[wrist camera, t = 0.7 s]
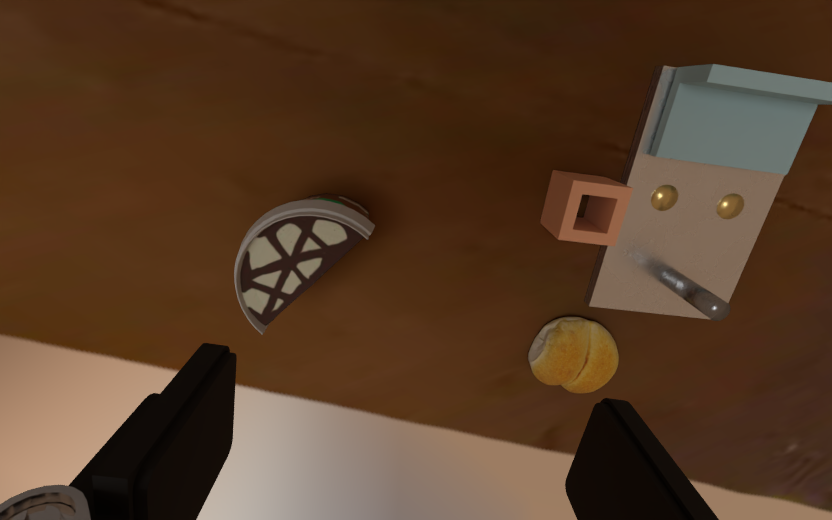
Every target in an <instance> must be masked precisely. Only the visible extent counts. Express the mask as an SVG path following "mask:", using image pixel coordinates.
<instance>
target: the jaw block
mask: <svg viewBox="0 0 832 520" xmlns="http://www.w3.org/2000/svg"><path fill="white" fill-rule="evenodd" d="M632 191H633V188H632V187H629V186H627V185H624V184H622V183H619V182H617V181H614V180H612V179H609V178H607V177H602V176H594V175H587V174H579V173H572V172H564V171H557V170H553V172H552V176H551V180H550V184H549V188H548V192H547V196H546V200H545V204H544V208H543V212H542V216H541V220H540V223H541V224H542V225H543V226H544V227H545V228H546V229H547V230H548V231H549V232H550V233H551V234H553V235H554V236H555V237H556V238H557V239H558V240H566V241H574V242H582V243H591V244H599V245H607V246H615V245H616V242H617V238H618V235H619V232H620V229H621V226H622V223H623V219H624V216H625V213H626V210H627V207H628V204H629V201H630V197H631V194H632ZM582 194H584V195H590V196H589V199H588V203H587V206H586V210H585V214H584V217H583V218H581V217H576V216H577V212H578V208H579V205H580V201H581V197H582Z"/></svg>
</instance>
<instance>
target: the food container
mask: <svg viewBox="0 0 832 520" xmlns="http://www.w3.org/2000/svg"><path fill="white" fill-rule="evenodd" d="M374 227H375V225H374V224H373V223H372V222H371V221H369V215H368V211H367V210H366V209H365V208H364V207H363V206H362V205H360V204H359V203H357V202H355V201H353V200H351V199H349V198H347V197H345V196H341V195H335V194H328V193H325V194H319V195H313V196H309V197H307V198H305V199H303V200H300V201H295V202H289V203H286V204H284V205H281V206H278V207H276V208H274V209H272V210H271V211H269V212H267V213H266V214H264V215H263V216H262V217H261V218H260V219H258V220H257V221H256V222H255V223H254V225H253V226H252V227H251V228H250V229H249V231H248V232H247V234H246V236H245V238H244V239H243V241H242V244H241V247H240V250H239V253H238V256H237V259H236V264H235V270H234V279H235V288H236V293H237V298H238V300H239V303H240V306H241V308H242V310H243V312H244V313H245V315H246V317H247V319H248V320H249V321H250V322H251V324H252V325H253V326H254V327H255V328H256V329H257V330H258V331H259V332H260V333H261V334H263V333H264V331H265V330H266V328H267V327H268V325H269V323H270V322H271V321H273V320H274V318H275V317H276V316H277V315H278V314H279V313H281V312H282V311H283V310H284V309H285V308H286V307H287V306H288V305H290V304H291V303H292V302H293V301H294V300H295V299H296V298H297V297H299V296H300V295H301V294H302V293H303V292H304V291H306V290H307V289H308V288H309V287H310V286H311V285H313V284H314V283H315V282H316V281H317V280H318V279H319V278H320V277H321V276H322V275H323V274H324V273H325V272H326V271H327V270H328V269H330V268H331V267H332V266H333V265H334V264H335V263H336V262H337V261H338V260H339V259H340V258H342V257H343V256H344V255H345V254H346V253H347V252H348V251H349V250H350V249H352V248H353V247H354V246H355V245H356V244H357V243H358V242H359V241H360V240H361V239H362V238H363V237H365V238H366V239H367V240H368V238H369V235H371V234H372V232H373V229H374Z"/></svg>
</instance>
